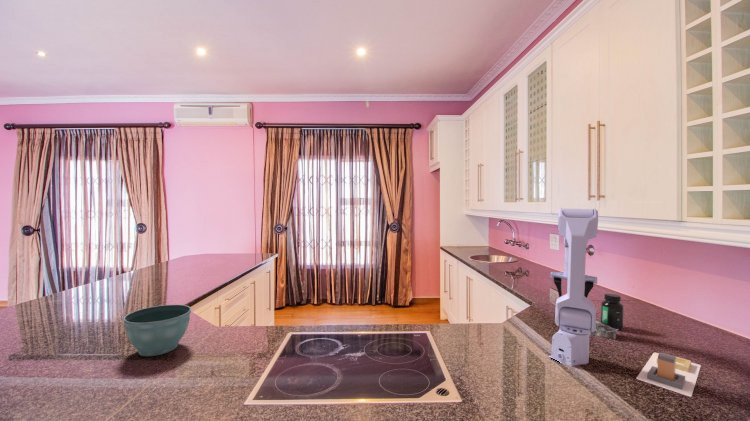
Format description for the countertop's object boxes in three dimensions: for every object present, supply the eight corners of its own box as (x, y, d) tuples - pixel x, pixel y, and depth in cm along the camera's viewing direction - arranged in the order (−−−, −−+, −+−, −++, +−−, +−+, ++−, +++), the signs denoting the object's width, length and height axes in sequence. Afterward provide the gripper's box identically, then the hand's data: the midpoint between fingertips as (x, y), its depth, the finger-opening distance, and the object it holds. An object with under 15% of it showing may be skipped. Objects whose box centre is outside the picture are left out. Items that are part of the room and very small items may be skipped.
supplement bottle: (604, 329, 117) (605, 296, 117) (597, 322, 123) (598, 291, 123) (626, 331, 115) (627, 298, 115) (618, 325, 121) (619, 293, 121)
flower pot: (111, 354, 89) (111, 315, 89) (170, 334, 104) (171, 301, 104) (142, 369, 82) (143, 327, 82) (202, 345, 96) (202, 309, 96)
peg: (673, 384, 79) (674, 360, 79) (657, 379, 81) (657, 355, 81) (675, 380, 81) (675, 356, 81) (659, 375, 83) (660, 352, 83)
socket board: (691, 400, 73) (691, 391, 73) (636, 381, 81) (636, 373, 81) (700, 367, 89) (701, 360, 89) (653, 354, 97) (654, 348, 97)
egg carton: (576, 329, 117) (576, 318, 117) (594, 328, 118) (594, 317, 118) (600, 341, 107) (601, 328, 107) (620, 340, 108) (620, 328, 108)
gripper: (597, 262, 116) (595, 298, 118) (551, 258, 123) (550, 291, 125) (598, 268, 110) (596, 305, 112) (550, 263, 117) (549, 298, 119)
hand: (572, 298), depth 118 cm, fingers open, 7 cm apart
